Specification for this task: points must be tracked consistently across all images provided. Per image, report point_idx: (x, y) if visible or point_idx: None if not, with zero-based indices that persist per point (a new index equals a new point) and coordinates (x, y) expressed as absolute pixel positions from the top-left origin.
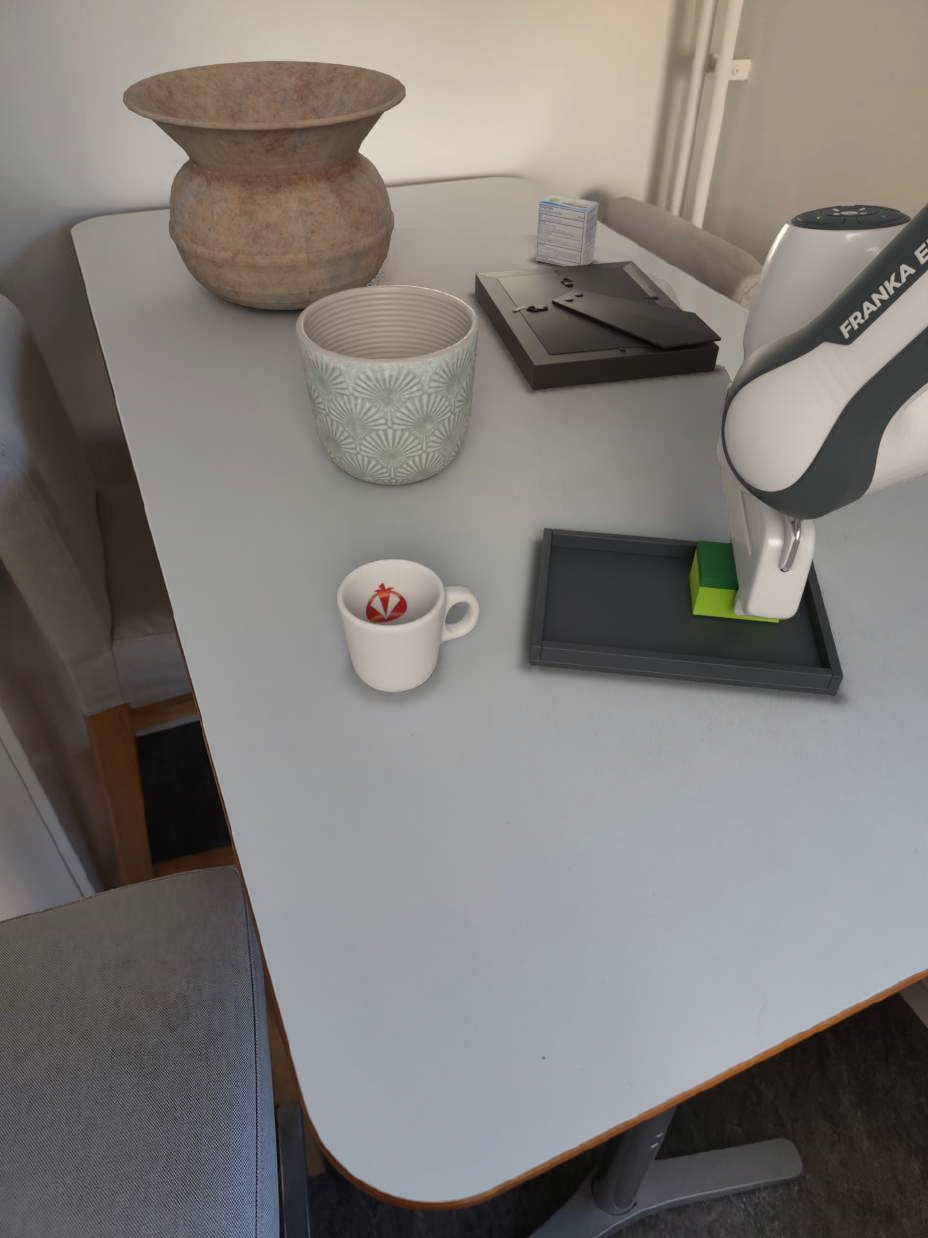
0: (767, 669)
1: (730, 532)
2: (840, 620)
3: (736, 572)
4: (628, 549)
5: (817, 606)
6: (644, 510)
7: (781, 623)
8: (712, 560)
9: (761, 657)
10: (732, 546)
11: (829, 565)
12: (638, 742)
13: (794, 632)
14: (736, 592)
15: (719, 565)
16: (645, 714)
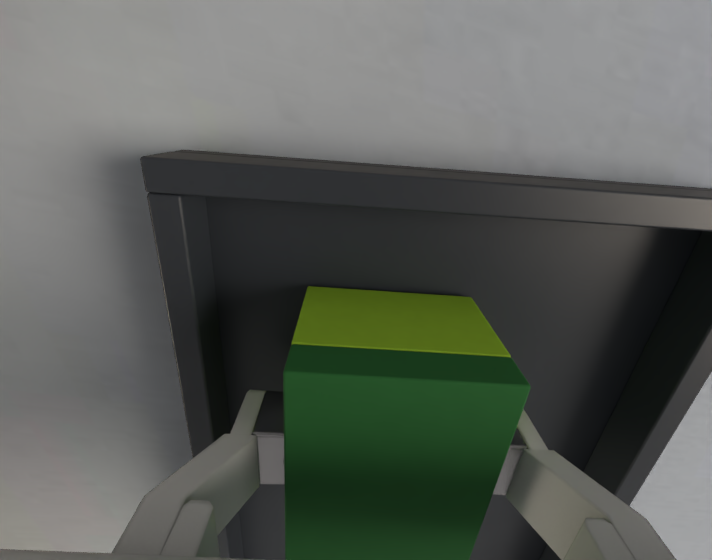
0: (698, 391)
1: (231, 516)
2: (430, 85)
3: (441, 515)
4: (238, 538)
5: (471, 207)
6: (60, 479)
7: (467, 284)
8: (382, 556)
9: (582, 351)
10: (302, 509)
11: (133, 42)
12: (700, 523)
13: (505, 259)
14: (498, 492)
15: (407, 546)
16: (648, 513)
